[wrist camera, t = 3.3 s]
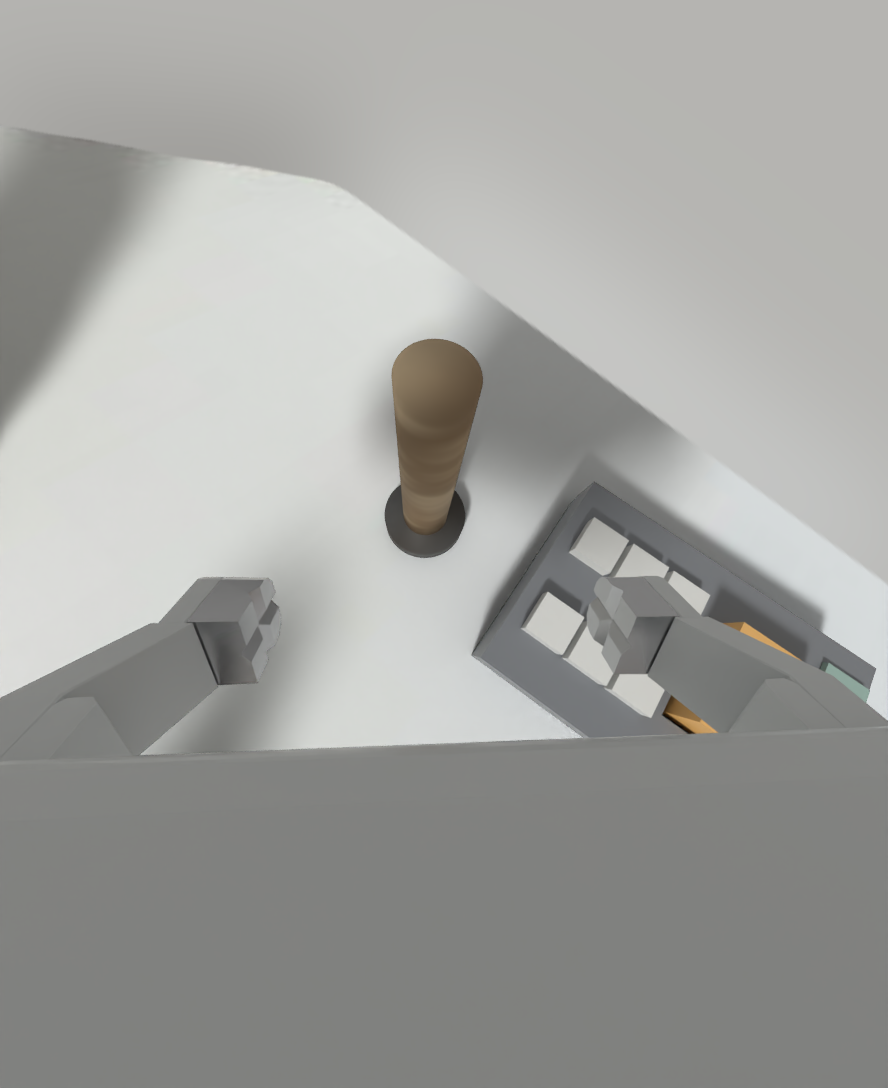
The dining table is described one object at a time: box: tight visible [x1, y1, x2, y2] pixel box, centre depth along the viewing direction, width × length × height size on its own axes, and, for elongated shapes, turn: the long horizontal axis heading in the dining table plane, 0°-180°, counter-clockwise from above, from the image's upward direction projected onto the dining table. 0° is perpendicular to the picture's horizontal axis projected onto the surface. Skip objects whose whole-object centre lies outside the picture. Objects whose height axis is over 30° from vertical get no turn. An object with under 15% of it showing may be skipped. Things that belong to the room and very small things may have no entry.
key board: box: [472, 482, 876, 738], centre depth 20 cm, size 18×12×4 cm, turn 55°
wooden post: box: [385, 339, 483, 558], centre depth 17 cm, size 5×5×13 cm
